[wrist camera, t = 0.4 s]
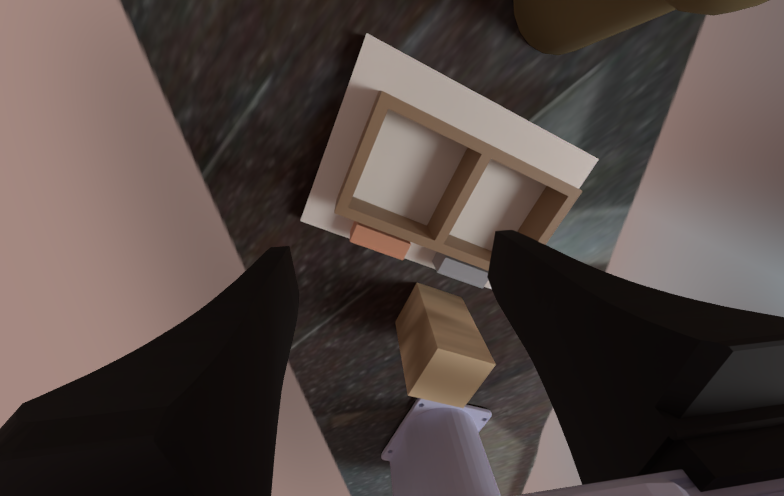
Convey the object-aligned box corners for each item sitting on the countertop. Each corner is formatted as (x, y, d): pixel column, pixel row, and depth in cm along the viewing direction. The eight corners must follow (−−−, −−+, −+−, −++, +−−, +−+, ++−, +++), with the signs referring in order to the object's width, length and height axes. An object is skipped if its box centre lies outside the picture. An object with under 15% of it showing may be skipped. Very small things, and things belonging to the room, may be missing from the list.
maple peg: (438, 334, 27) (463, 408, 21) (395, 322, 26) (407, 395, 20) (461, 297, 26) (495, 364, 20) (416, 282, 25) (437, 348, 18)
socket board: (501, 287, 26) (520, 313, 23) (302, 215, 21) (293, 236, 18) (588, 156, 22) (626, 167, 19) (366, 35, 17) (368, 25, 14)
